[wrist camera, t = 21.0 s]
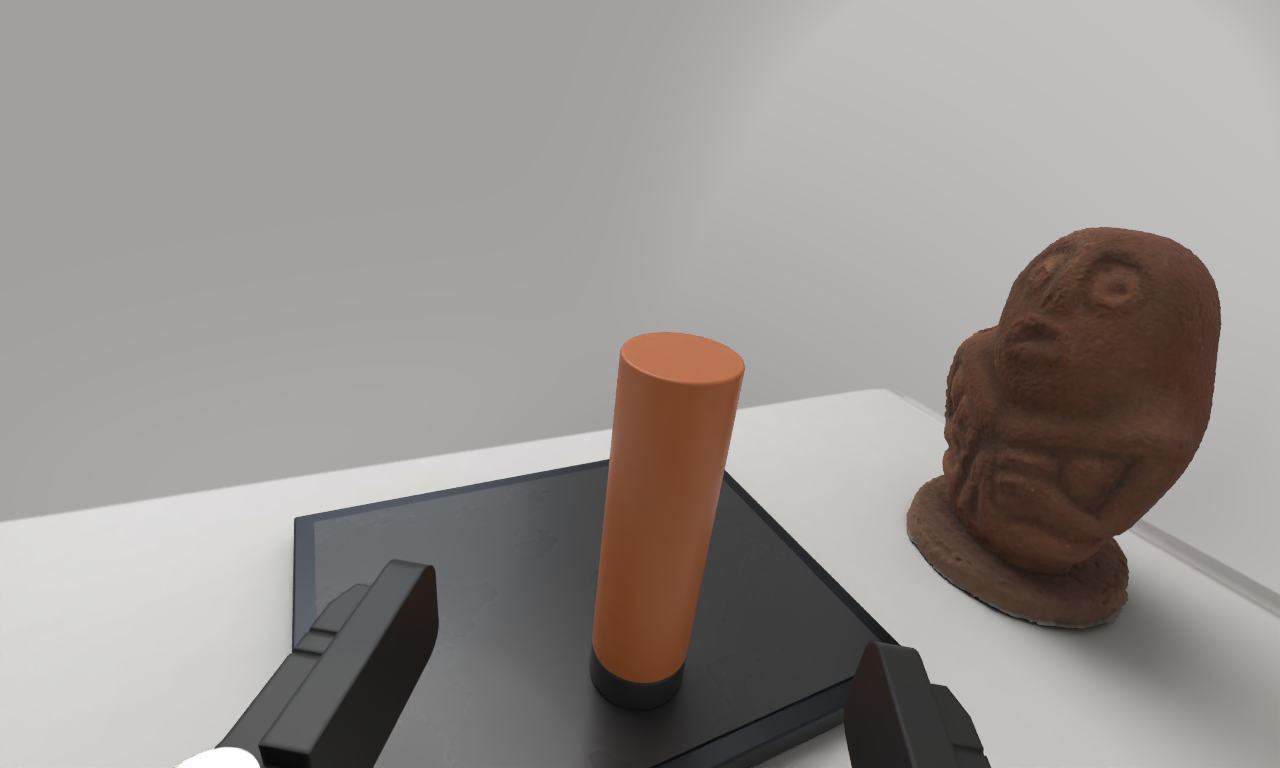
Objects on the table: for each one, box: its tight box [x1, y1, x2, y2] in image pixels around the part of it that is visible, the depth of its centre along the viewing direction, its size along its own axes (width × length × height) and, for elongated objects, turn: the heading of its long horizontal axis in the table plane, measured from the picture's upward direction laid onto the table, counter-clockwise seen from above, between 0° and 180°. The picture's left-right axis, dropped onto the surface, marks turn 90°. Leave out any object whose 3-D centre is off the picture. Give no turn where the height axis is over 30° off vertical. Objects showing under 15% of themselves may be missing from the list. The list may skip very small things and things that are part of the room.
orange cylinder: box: [589, 332, 745, 710], centre depth 17 cm, size 3×3×11 cm
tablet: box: [292, 459, 901, 768], centre depth 22 cm, size 15×19×1 cm
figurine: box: [906, 227, 1221, 629], centre depth 25 cm, size 9×10×15 cm
